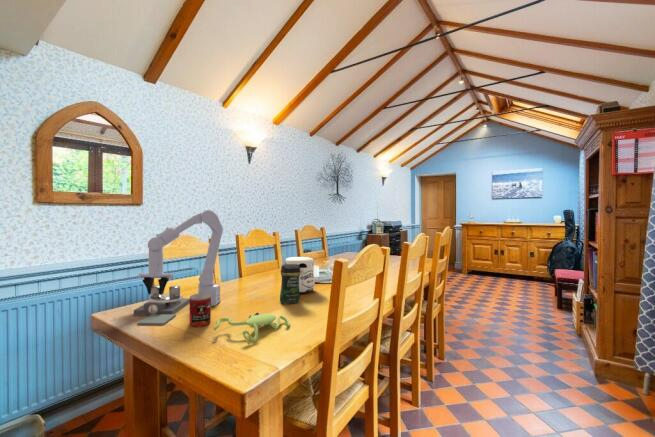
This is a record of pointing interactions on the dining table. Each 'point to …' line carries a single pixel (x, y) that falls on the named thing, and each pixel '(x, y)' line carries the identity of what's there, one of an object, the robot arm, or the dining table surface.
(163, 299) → the scale pan
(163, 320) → the rubber mat
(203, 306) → the canned food
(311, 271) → the milk container
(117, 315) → the dining table surface
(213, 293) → the robot arm
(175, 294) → the block
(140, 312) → the scale housing
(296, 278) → the coffee jar
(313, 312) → the dining table surface
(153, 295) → the steel weight
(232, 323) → the figurine
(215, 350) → the dining table surface
